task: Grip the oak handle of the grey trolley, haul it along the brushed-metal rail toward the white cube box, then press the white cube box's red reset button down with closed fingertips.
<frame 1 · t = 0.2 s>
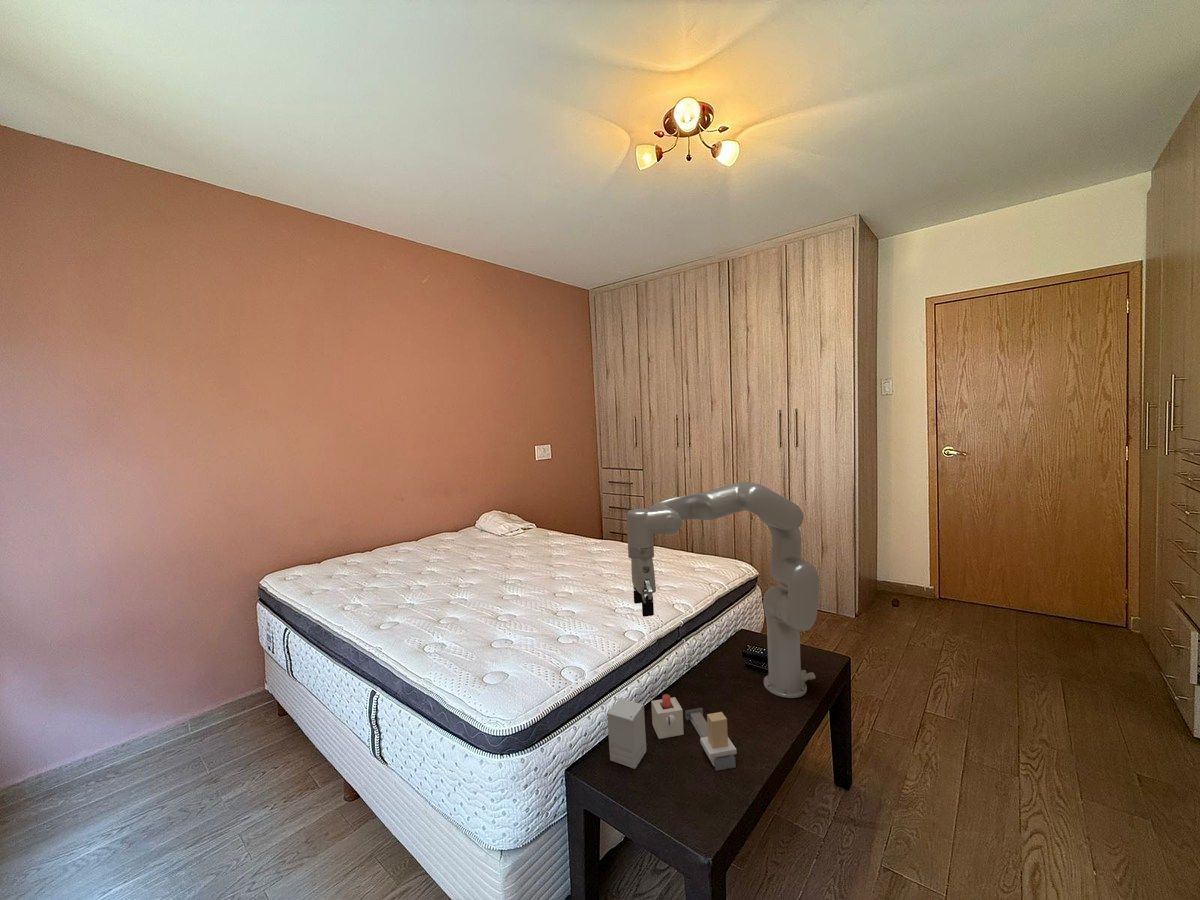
hand: (643, 609, 134), 31 cm above the table, fingers open, 9 cm apart
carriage: (717, 736, 115), point 5 cm above the table, slide at 0.0 cm
rail: (708, 740, 122), on the table
white cube box: (667, 729, 127), on the table
supplement box: (628, 756, 118), on the table
reset button: (666, 705, 127), point 7 cm above the table, slide at 0.0 cm
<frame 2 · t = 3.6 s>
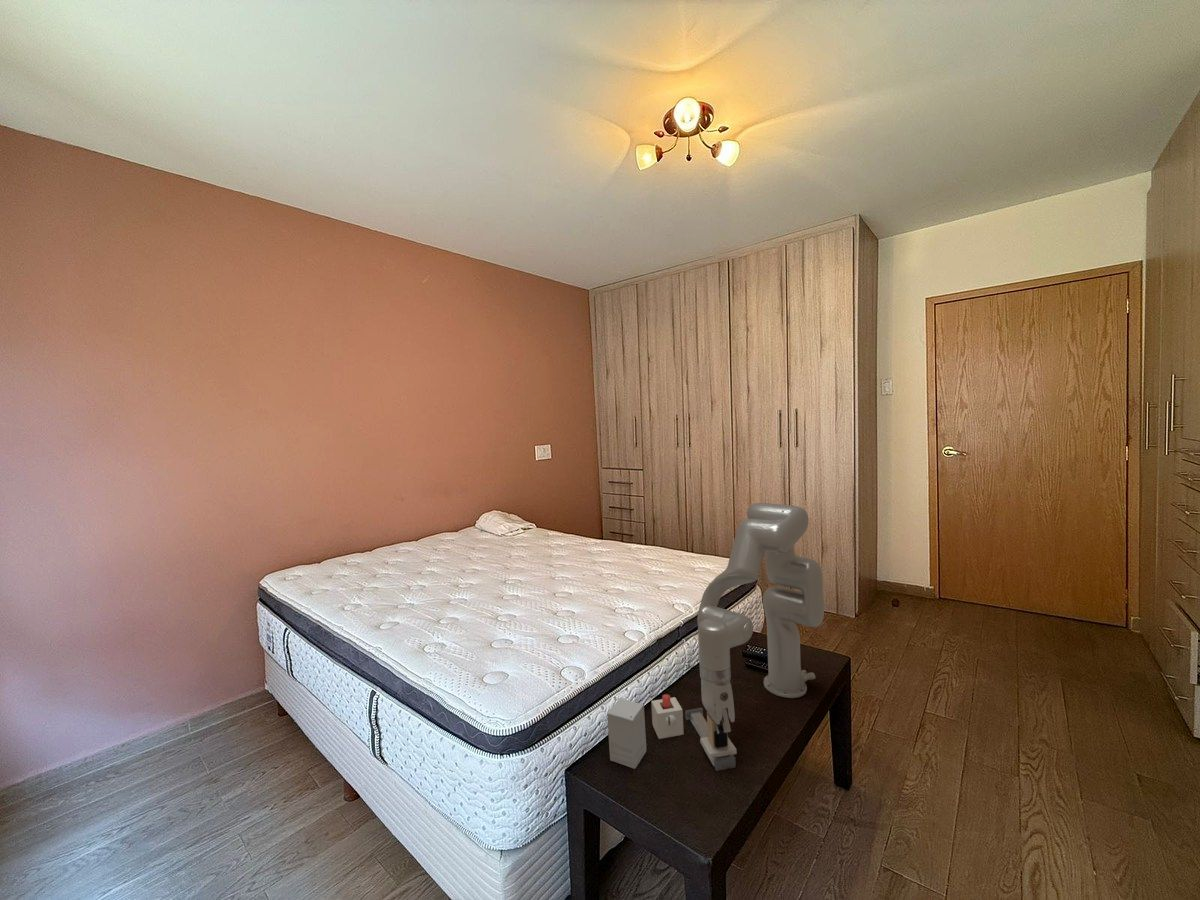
hand: (717, 740, 116), 4 cm above the table, fingers closed on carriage, 3 cm apart
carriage: (717, 736, 115), point 5 cm above the table, slide at 0.0 cm, touching gripper
everything else where it was.
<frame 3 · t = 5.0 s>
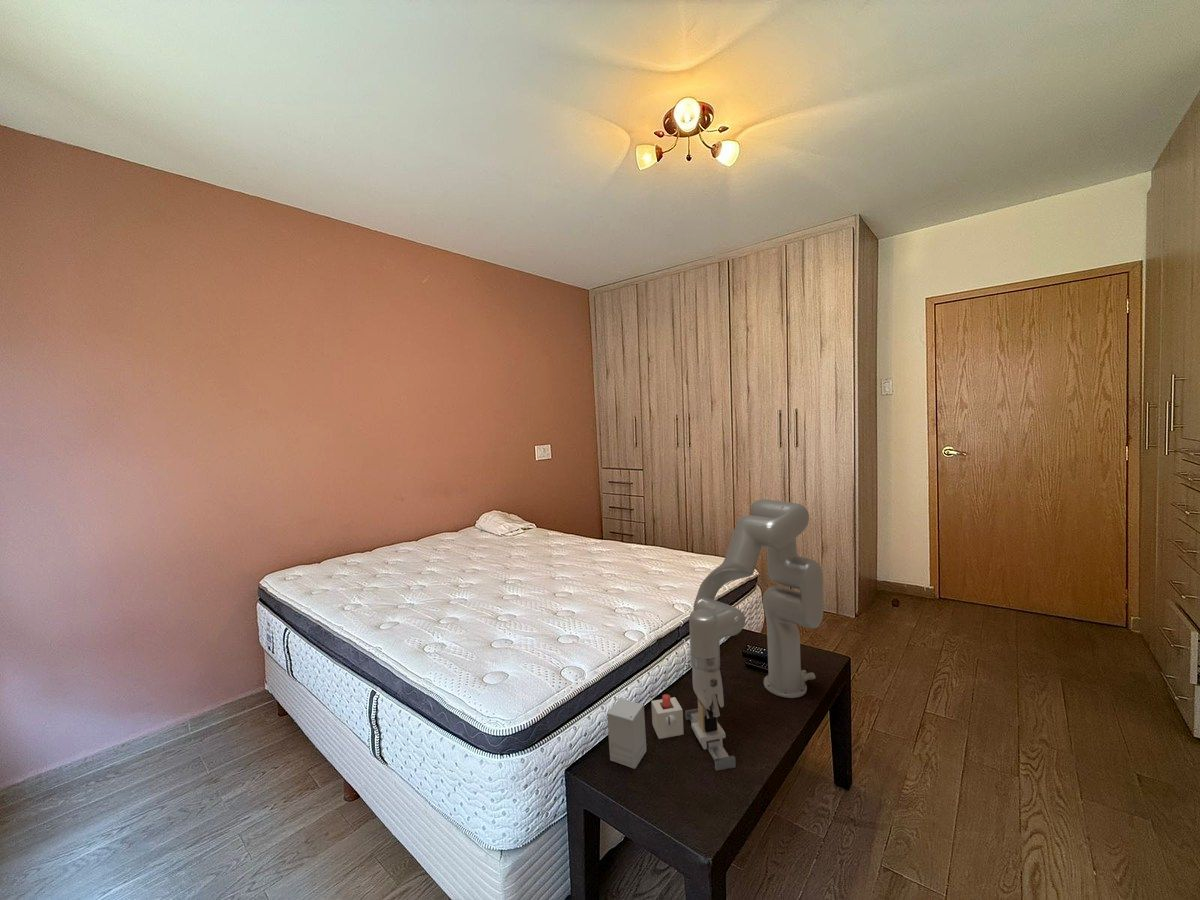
hand: (707, 725, 121), 4 cm above the table, fingers closed on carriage, 3 cm apart
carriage: (707, 721, 121), point 5 cm above the table, slide at 6.0 cm, touching gripper
everything else where it was.
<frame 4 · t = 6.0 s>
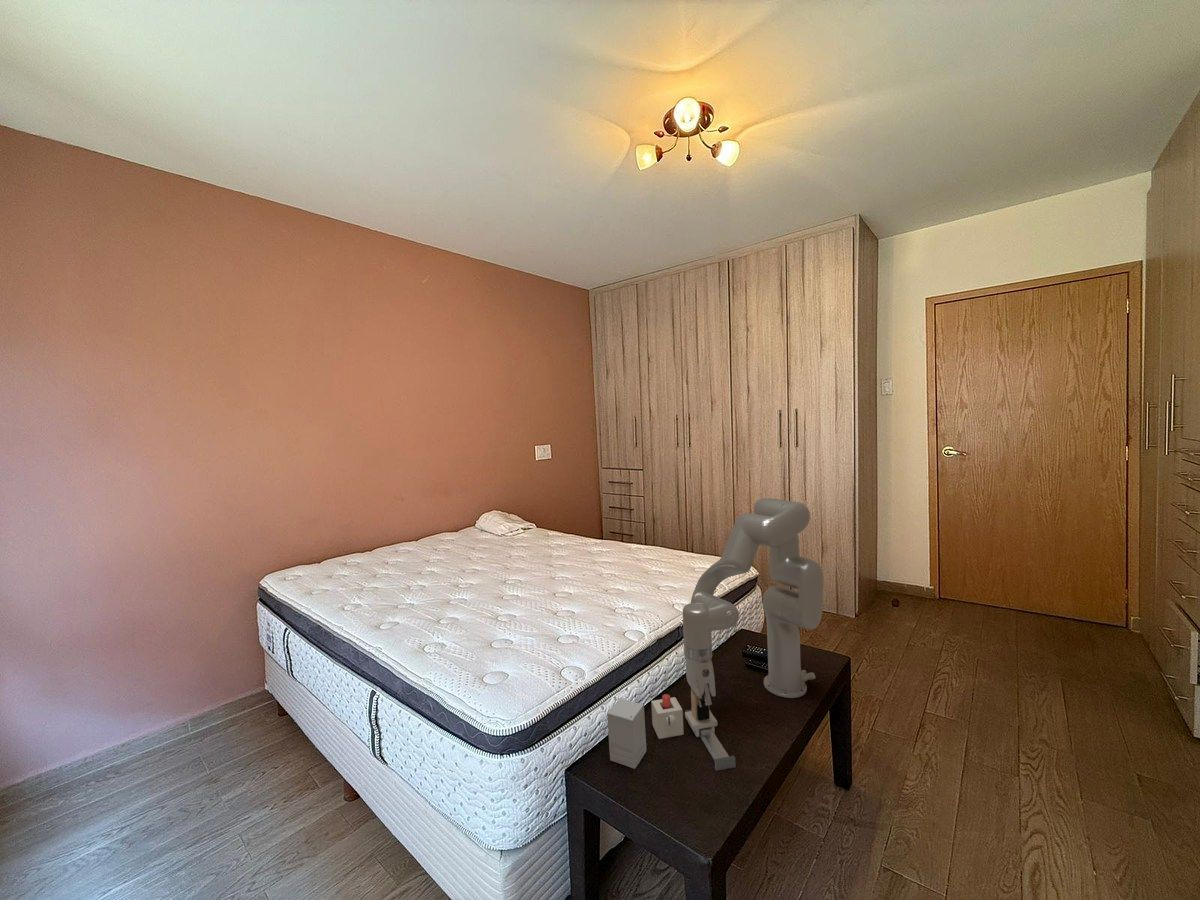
hand: (700, 714, 126), 4 cm above the table, fingers closed on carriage, 3 cm apart
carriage: (700, 710, 126), point 5 cm above the table, slide at 10.9 cm, touching gripper
everything else where it was.
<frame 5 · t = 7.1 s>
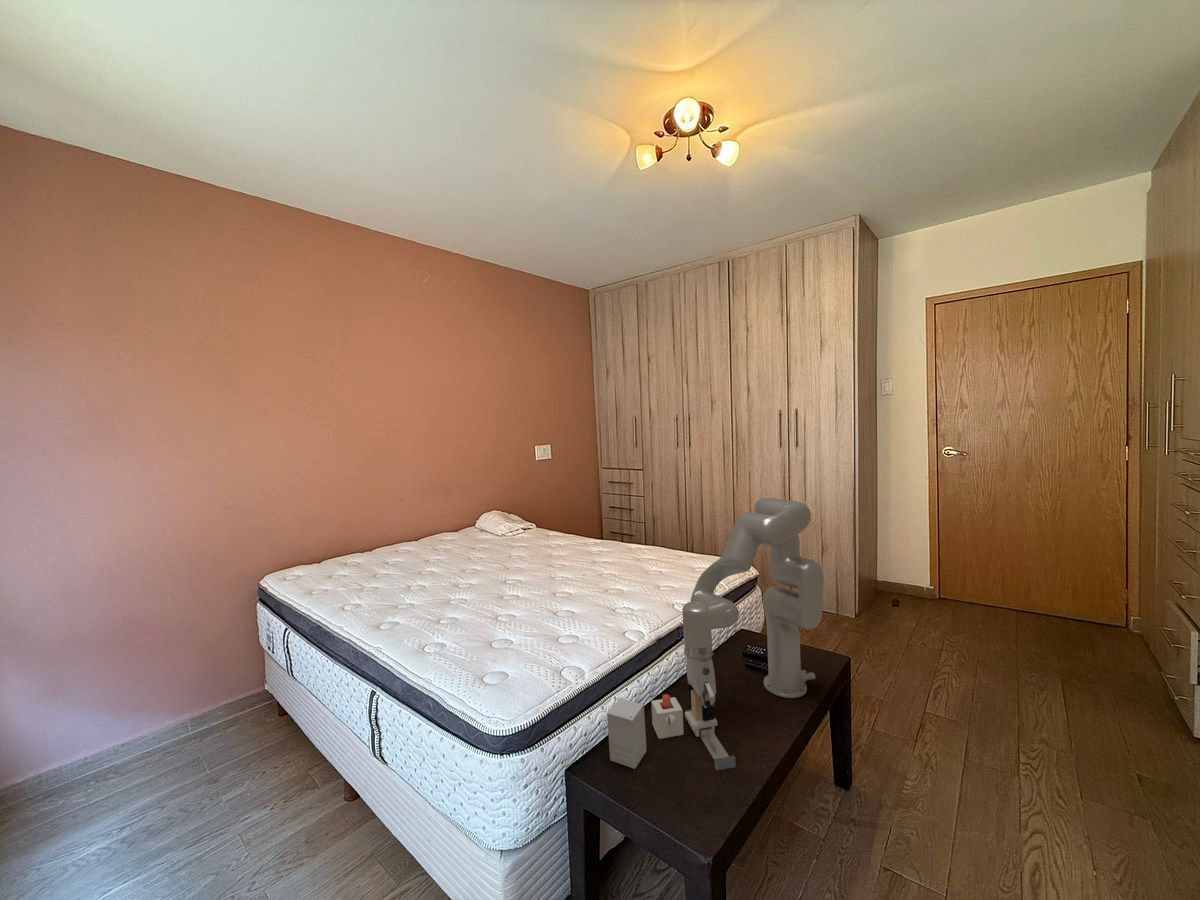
hand: (701, 708, 126), 6 cm above the table, fingers open, 9 cm apart
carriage: (700, 710, 126), point 5 cm above the table, slide at 11.0 cm
everything else where it was.
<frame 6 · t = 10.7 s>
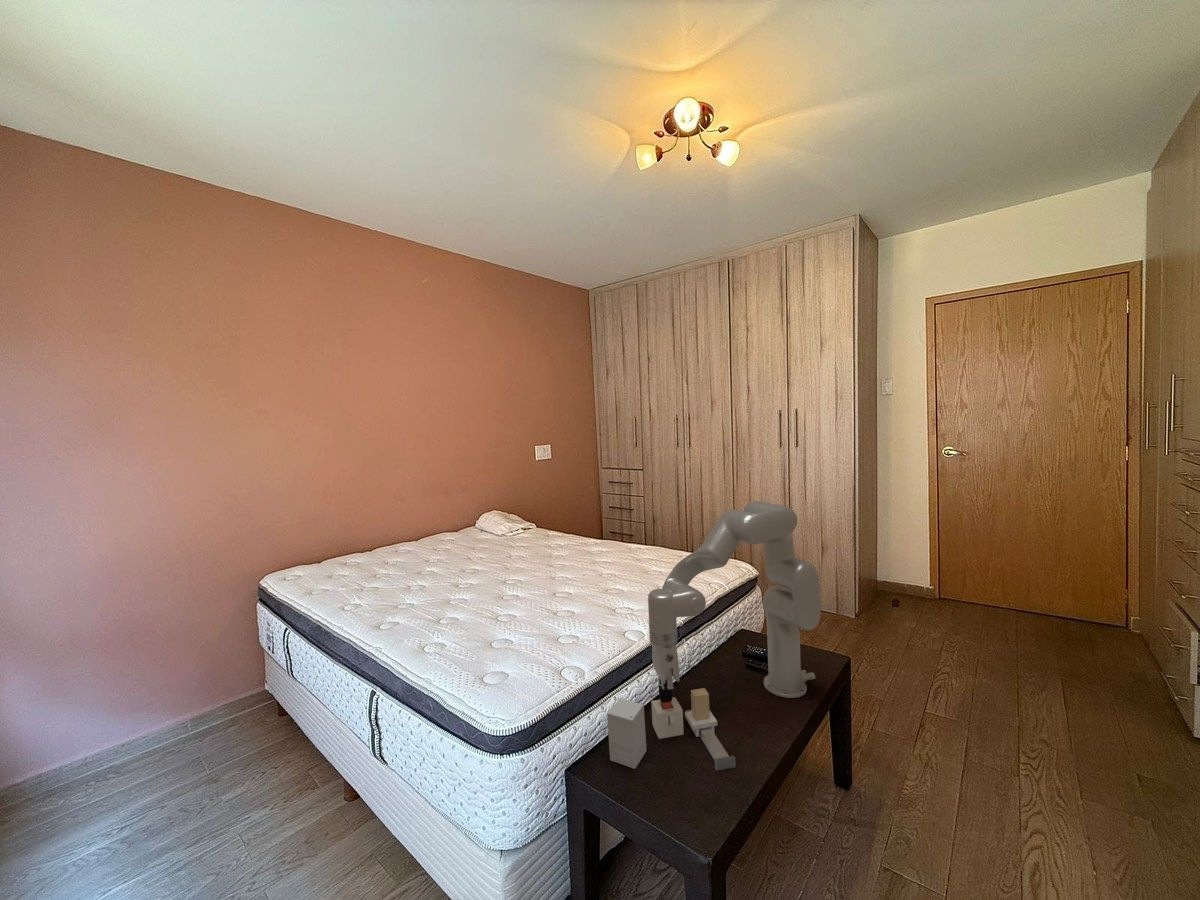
hand: (665, 700, 126), 8 cm above the table, fingers closed
reset button: (666, 709, 127), point 6 cm above the table, slide at 1.1 cm, touching gripper
everything else where it was.
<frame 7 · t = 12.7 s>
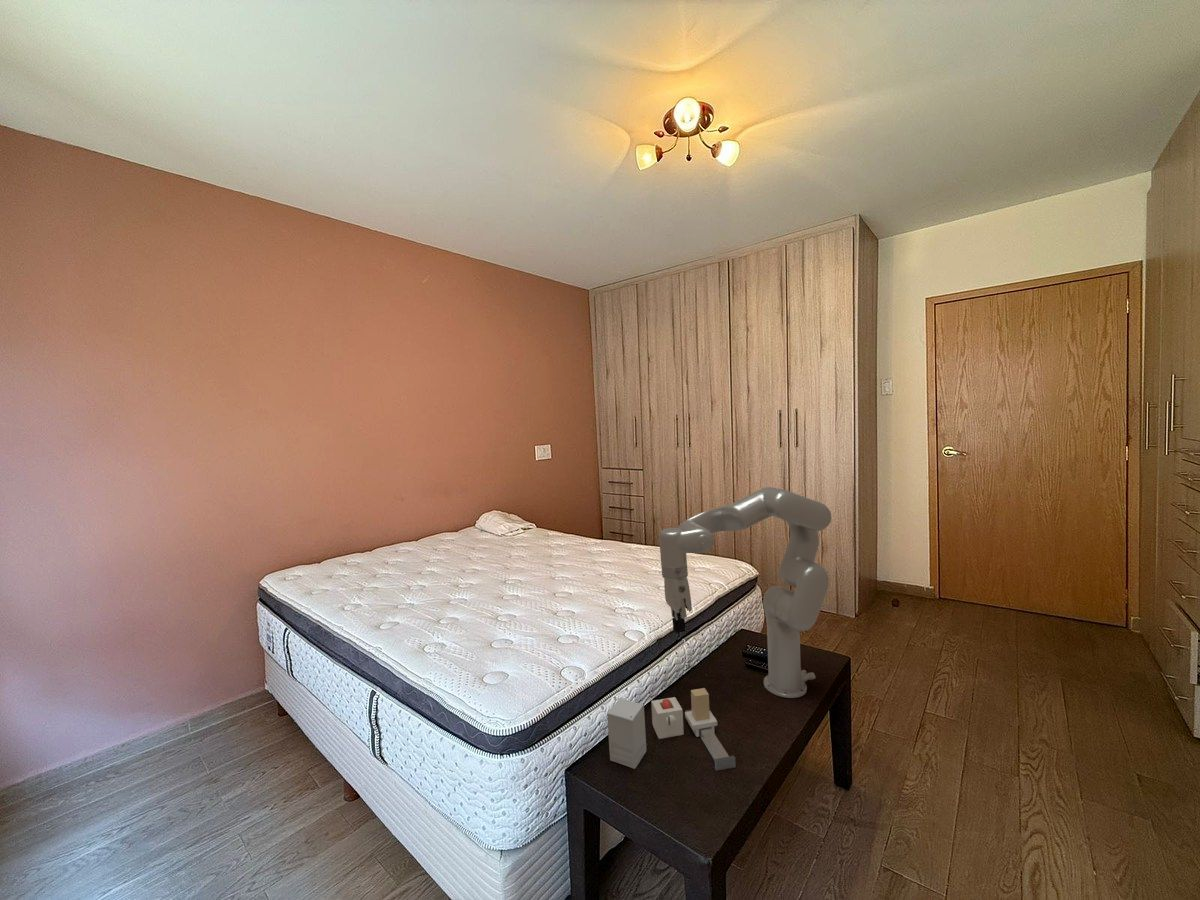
hand: (679, 631, 136), 23 cm above the table, fingers closed
reset button: (666, 710, 127), point 6 cm above the table, slide at 1.4 cm
everything else where it was.
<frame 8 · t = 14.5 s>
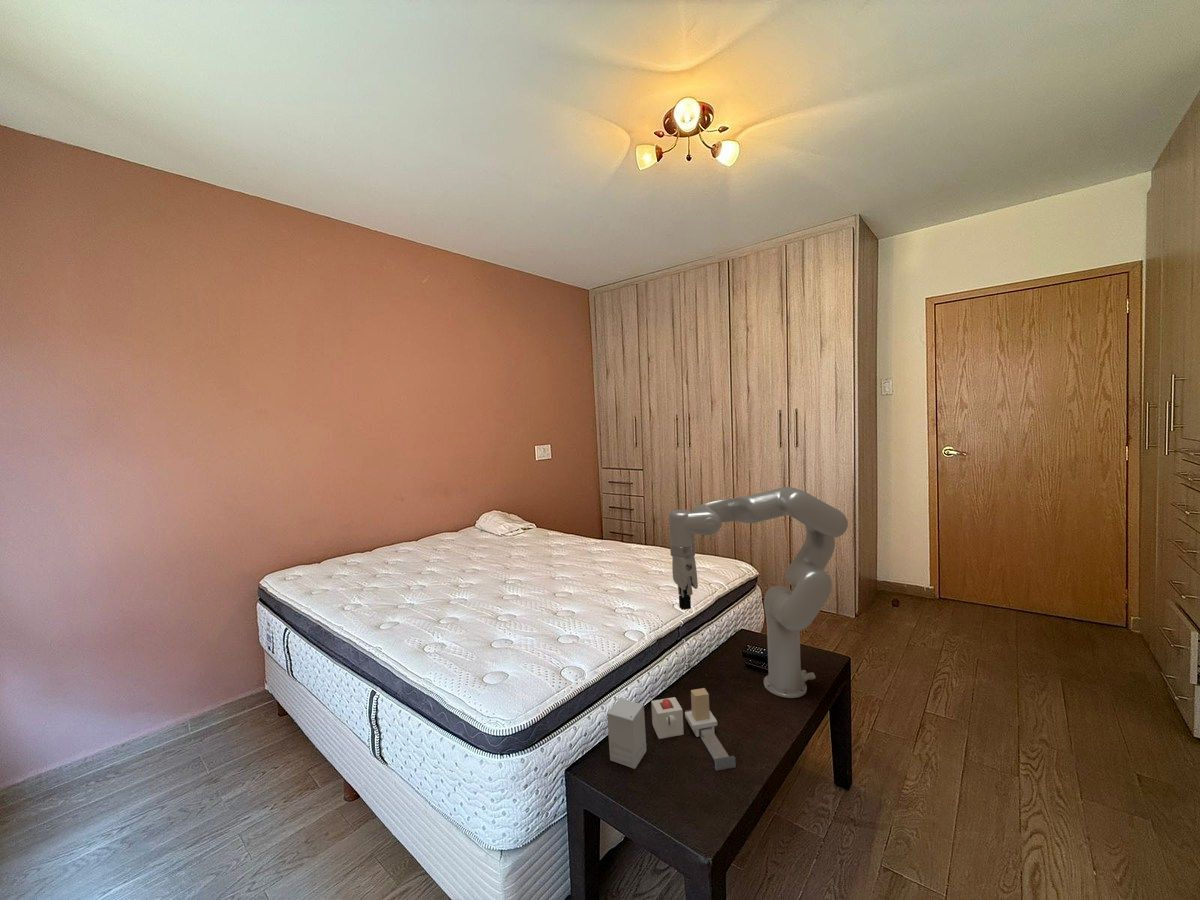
hand: (685, 608, 142), 27 cm above the table, fingers closed
nothing on the table moved.
at the end: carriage slide at 11.0 cm; reset button slide at 1.4 cm; the gripper is holding nothing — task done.
